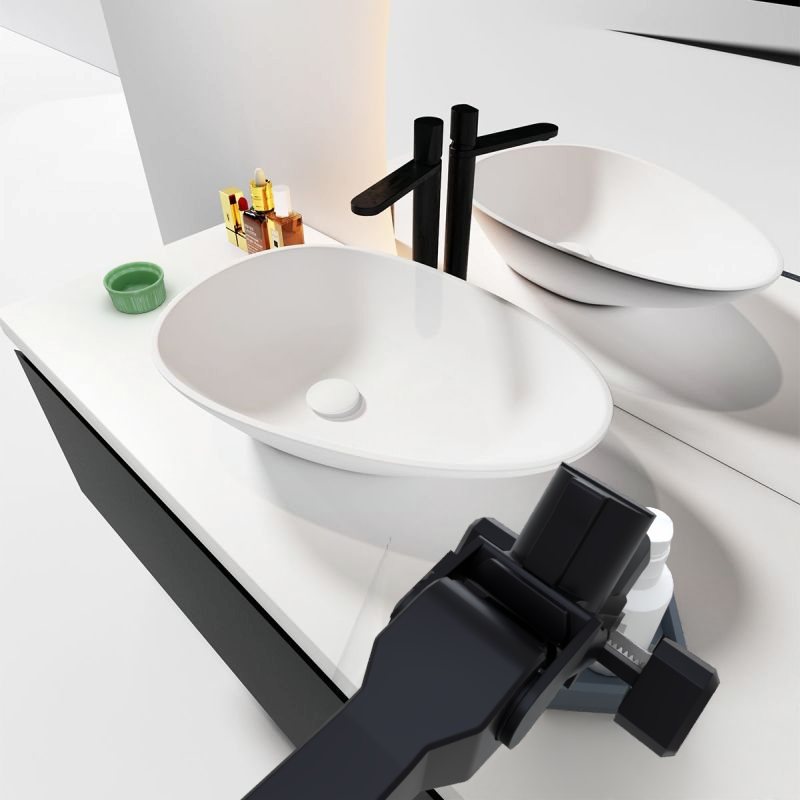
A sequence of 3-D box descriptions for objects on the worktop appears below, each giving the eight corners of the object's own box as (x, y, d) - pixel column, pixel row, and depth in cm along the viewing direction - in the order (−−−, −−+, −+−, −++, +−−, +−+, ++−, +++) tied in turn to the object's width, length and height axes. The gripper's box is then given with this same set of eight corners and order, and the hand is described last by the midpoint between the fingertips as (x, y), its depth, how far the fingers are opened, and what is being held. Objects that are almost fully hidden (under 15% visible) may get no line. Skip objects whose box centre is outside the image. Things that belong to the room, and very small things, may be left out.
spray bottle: (583, 599, 69) (621, 478, 57) (652, 631, 66) (707, 511, 54) (558, 655, 65) (593, 536, 53) (630, 692, 62) (685, 576, 50)
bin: (687, 719, 61) (699, 700, 58) (542, 708, 62) (548, 688, 59) (659, 593, 70) (668, 572, 68) (533, 585, 71) (538, 563, 68)
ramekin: (149, 321, 106) (141, 296, 103) (98, 310, 108) (90, 286, 105) (180, 289, 112) (174, 266, 109) (132, 280, 114) (125, 257, 111)
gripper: (760, 620, 36) (771, 599, 49) (476, 444, 45) (550, 466, 59) (649, 797, 37) (689, 729, 50) (395, 588, 47) (485, 578, 60)
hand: (598, 614), depth 55 cm, fingers open, 9 cm apart
